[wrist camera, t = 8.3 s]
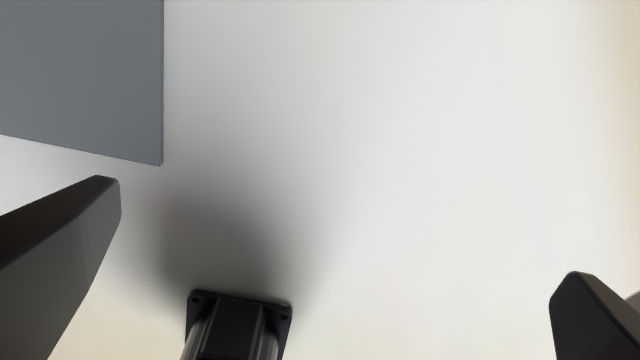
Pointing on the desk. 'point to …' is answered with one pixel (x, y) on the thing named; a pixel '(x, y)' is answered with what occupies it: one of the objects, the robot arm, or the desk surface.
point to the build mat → (84, 75)
